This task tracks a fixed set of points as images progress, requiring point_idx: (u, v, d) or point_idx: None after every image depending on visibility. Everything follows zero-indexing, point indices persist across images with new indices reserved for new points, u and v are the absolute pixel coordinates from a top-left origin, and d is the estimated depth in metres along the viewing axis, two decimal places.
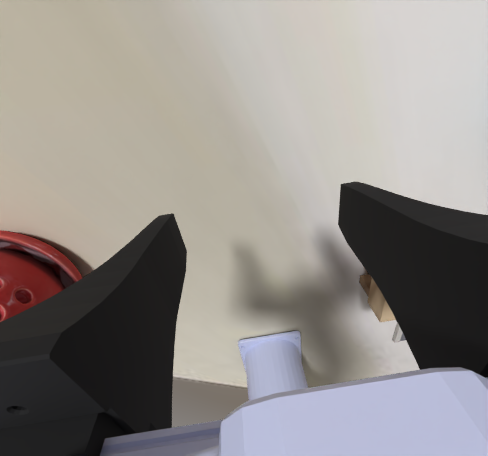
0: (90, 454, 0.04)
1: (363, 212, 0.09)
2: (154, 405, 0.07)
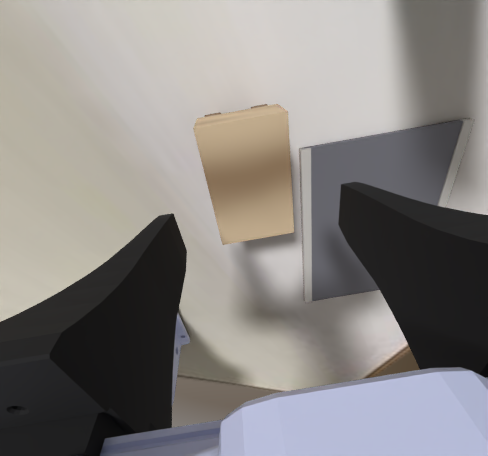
0: (90, 454, 0.04)
1: (363, 212, 0.09)
2: (154, 405, 0.07)
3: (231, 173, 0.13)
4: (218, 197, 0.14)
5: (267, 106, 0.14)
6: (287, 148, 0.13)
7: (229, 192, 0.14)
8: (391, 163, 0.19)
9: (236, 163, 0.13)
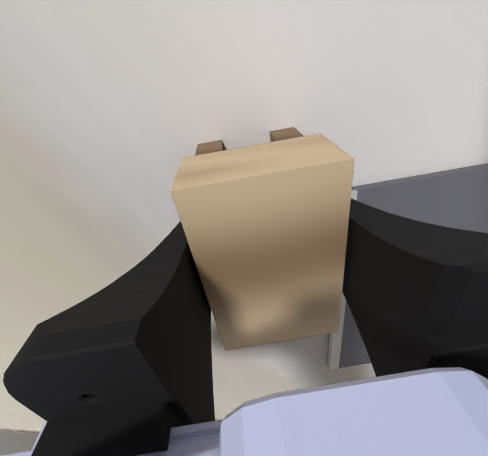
0: (162, 442, 0.04)
1: None
2: (203, 397, 0.07)
3: (241, 259, 0.08)
4: (218, 292, 0.08)
5: (303, 138, 0.08)
6: (344, 220, 0.07)
7: (238, 285, 0.08)
8: (470, 208, 0.13)
9: (251, 244, 0.07)
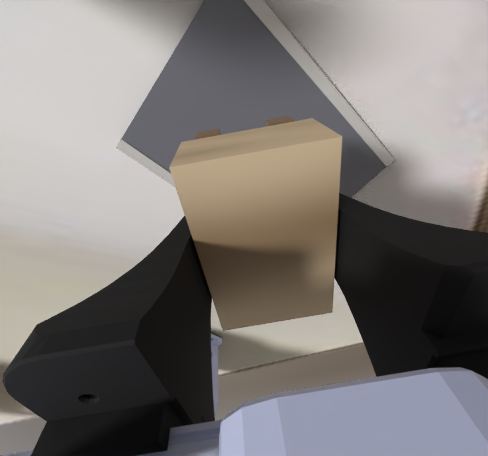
0: (162, 442, 0.04)
1: None
2: (202, 397, 0.07)
3: (237, 236, 0.08)
4: (215, 270, 0.09)
5: (296, 122, 0.08)
6: (335, 197, 0.07)
7: (234, 263, 0.09)
8: (202, 84, 0.16)
9: (246, 221, 0.08)
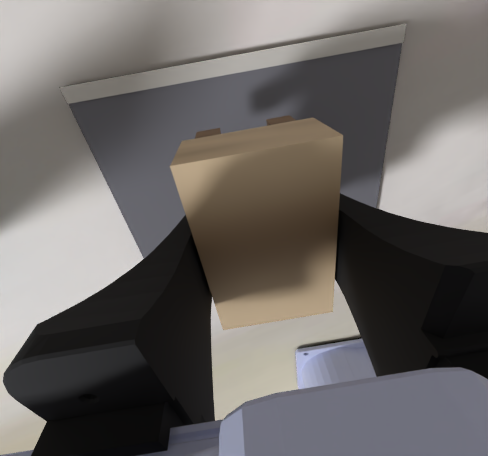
0: (162, 442, 0.04)
1: None
2: (202, 397, 0.07)
3: (237, 236, 0.08)
4: (216, 269, 0.09)
5: (297, 121, 0.08)
6: (335, 196, 0.07)
7: (234, 262, 0.09)
8: (147, 183, 0.15)
9: (247, 220, 0.08)
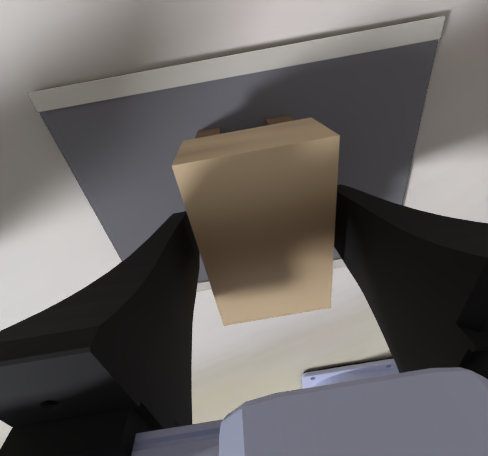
0: (124, 448, 0.04)
1: (346, 215, 0.09)
2: (177, 401, 0.07)
3: (237, 233, 0.08)
4: (216, 266, 0.09)
5: (295, 121, 0.09)
6: (332, 195, 0.08)
7: (234, 259, 0.09)
8: (136, 202, 0.13)
9: (246, 218, 0.08)
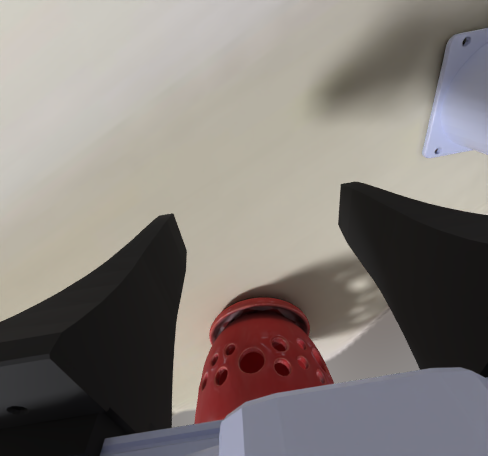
0: (90, 454, 0.04)
1: (363, 212, 0.09)
2: (154, 405, 0.07)
3: None
4: None
5: None
6: None
7: None
8: None
9: None
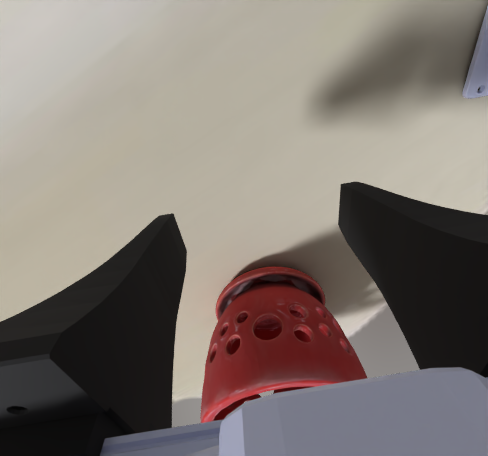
0: (90, 454, 0.04)
1: (363, 212, 0.09)
2: (154, 405, 0.07)
3: None
4: None
5: None
6: None
7: None
8: None
9: None
